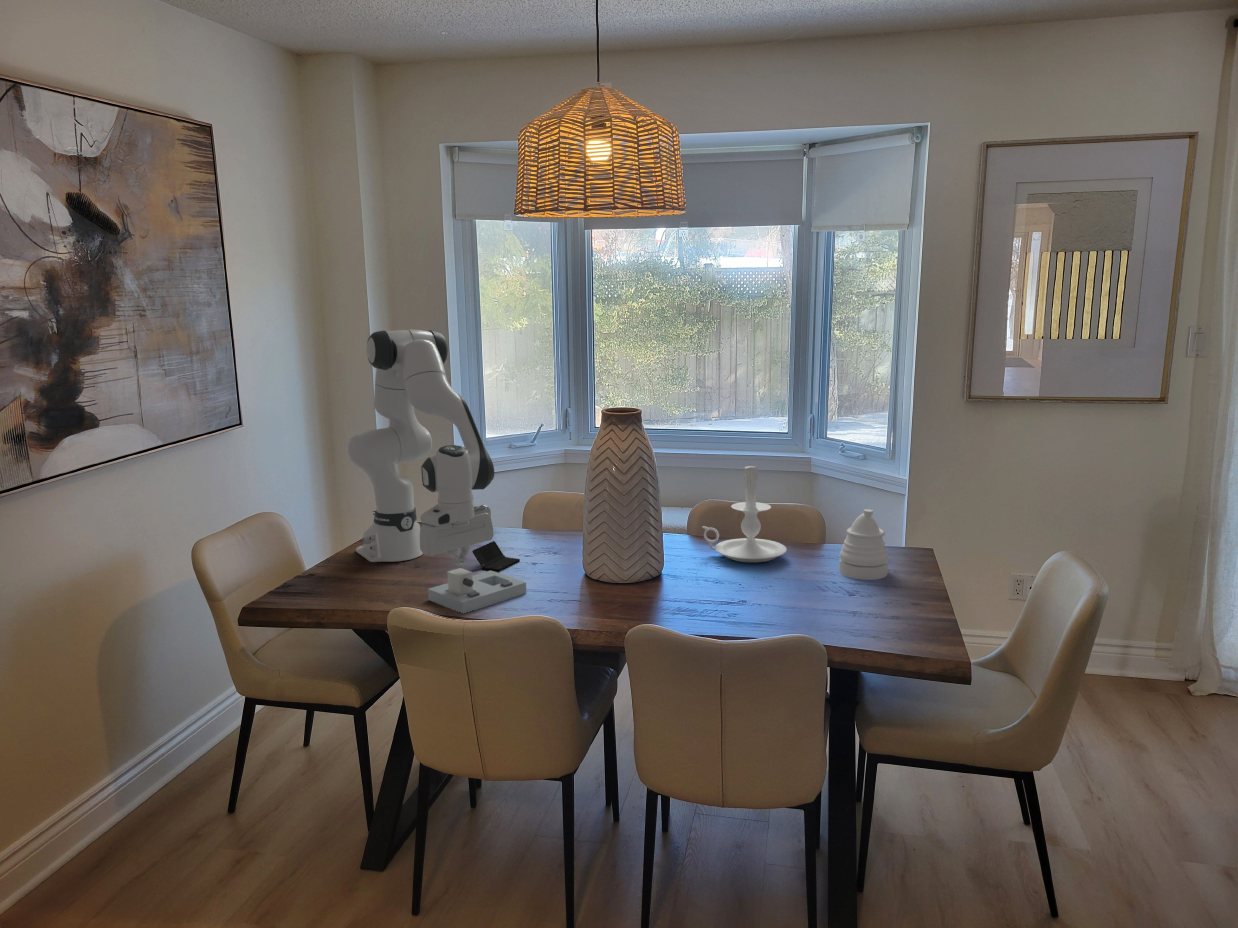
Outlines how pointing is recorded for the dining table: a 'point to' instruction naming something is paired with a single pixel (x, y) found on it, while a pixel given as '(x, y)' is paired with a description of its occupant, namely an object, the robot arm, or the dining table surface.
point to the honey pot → (864, 550)
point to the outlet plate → (479, 592)
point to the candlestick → (748, 529)
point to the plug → (460, 582)
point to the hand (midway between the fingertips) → (459, 564)
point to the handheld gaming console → (493, 558)
